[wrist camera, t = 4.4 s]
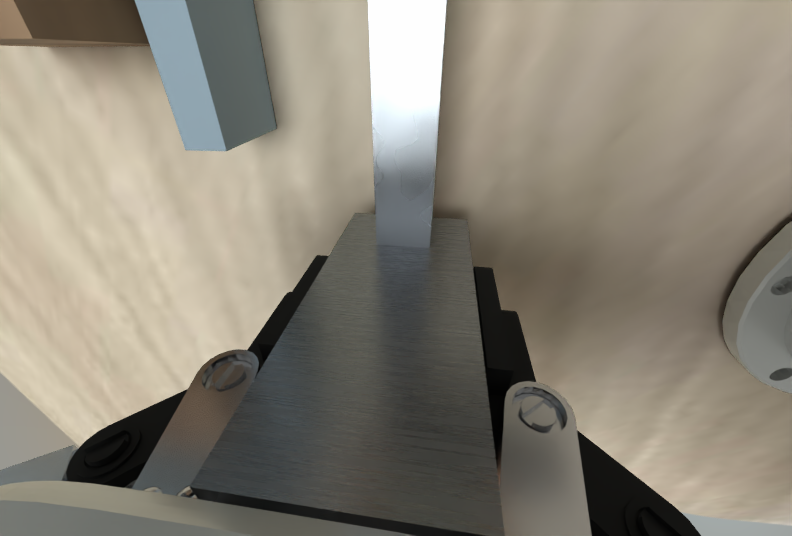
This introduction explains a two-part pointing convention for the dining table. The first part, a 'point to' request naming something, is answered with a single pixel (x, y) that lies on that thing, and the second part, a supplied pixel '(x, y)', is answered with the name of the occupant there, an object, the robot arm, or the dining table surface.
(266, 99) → the cubby
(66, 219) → the dining table surface
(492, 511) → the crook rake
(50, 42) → the walnut block
